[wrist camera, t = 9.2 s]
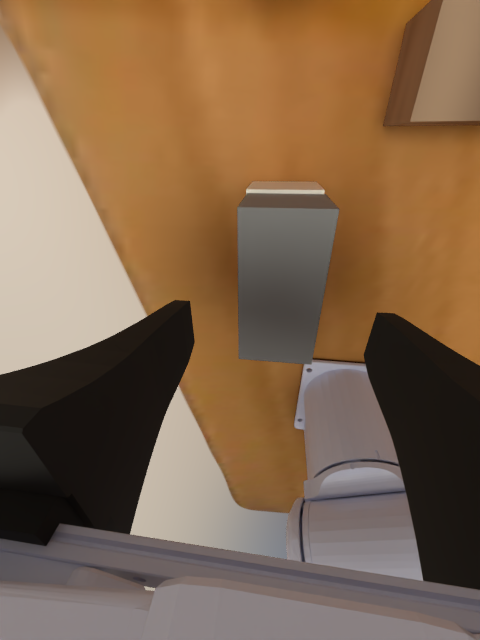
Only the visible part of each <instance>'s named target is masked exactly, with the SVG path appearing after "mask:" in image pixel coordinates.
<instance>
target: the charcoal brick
mask: <svg viewBox="0 0 480 640" xmlns="http://www.w3.org/2000/svg"><path fill="white" fill-rule="evenodd" d="M338 214H339V208H338V207H337V206H336V205H335V204H334V203H333V202H332V201H331V200H330V198H329V197H328V196H327V195H326V194H282V193H247V195H246V196H245V197H244V199H243V200H242V202H241V203H240V204H239V206H238V207H237V216H238V327H239V359H248V360H260V361H273V362H285V363H298V364H310V365H311V364H312V358H313V353H314V347H315V342H316V336H317V330H318V325H319V319H320V314H321V308H322V303H323V297H324V292H325V286H326V280H327V275H328V269H329V264H330V258H331V253H332V247H333V241H334V236H335V230H336V225H337V219H338Z"/></svg>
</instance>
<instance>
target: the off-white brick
mask: <svg viewBox="0 0 480 640" xmlns="http://www.w3.org/2000/svg"><path fill="white" fill-rule="evenodd" d="M324 191H325V190H324V189H323V188H322V187H321V186H320V185H319V184H318V183H317V182H301V181H253V182H252V183H251V184H250V185H249V187H248V188H247V189H246V195H247V193H282V194H324Z"/></svg>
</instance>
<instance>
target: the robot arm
mask: <svg viewBox="0 0 480 640" xmlns="http://www.w3.org/2000/svg"><path fill="white" fill-rule="evenodd" d="M194 342H195V341H194V333H193V324H192V315H191V307H190V301H180V300H175V301H173V302H171V303H169V304H167V305H165V306H164V307H162V308H160V309H159V310H157V311H156V312H154V313H152V314H151V315H149V316H147V317H146V318H144V319H143V320H141V321H139V322H137V323H136V324H134V325H132V326H130V327H128V328H126V329H125V330H123V331H121V332H119V333H117V334H115V335H113V336H111V337H109V338H107V339H105V340H103V341H101V342H98V343H96V344H94V345H91V346H90V347H87V348H84V349H82V350H79V351H76V352H73V353H71V354H68V355H66V356H63V357H60V358H57V359H54V360H51V361H48V362H45V363H42V364H38V365H35V366H32V367H28V368H25V369H21V370H18V371H14V372H10V373H6V374H2V375H0V640H480V366H479V365H477V364H475V363H474V362H472V361H470V360H469V359H467V358H465V357H463V356H462V355H460V354H458V353H457V352H455V351H453V350H452V349H450V348H448V347H447V346H445V345H444V344H442V343H441V342H439V341H437V340H436V339H434V338H433V337H431V336H430V335H428V334H427V333H425V332H424V331H422V330H421V329H419V328H418V327H416V326H414V325H413V324H411V323H410V322H408V321H407V320H405V319H403V318H402V317H400V316H398V315H396V314H393V313H377V314H376V317H375V321H374V324H373V327H372V330H371V333H370V336H369V340H368V343H367V346H366V349H365V352H364V359H365V364H361V363H349V362H336V361H324V360H312V364H311V365H310V364H304V366H303V372H302V378H301V384H300V390H299V396H298V402H297V408H296V414H295V420H294V427H295V428H297V429H303V430H304V438H305V450H306V463H307V476H308V480H305V481H304V495H305V497H301V498H297V499H296V500H295V502H294V503H293V506H292V509H291V511H290V513H289V516H288V520H287V529H286V530H287V531H286V546H287V559H281V558H275V557H268V556H262V555H255V554H249V553H243V552H237V551H231V550H224V549H218V548H212V547H205V546H199V545H193V544H186V543H180V542H174V541H167V540H161V539H155V538H148V537H142V536H136V535H130V531H131V527H132V523H133V519H134V516H135V511H136V508H137V504H138V500H139V497H140V493H141V490H142V486H143V483H144V479H145V476H146V472H147V469H148V465H149V462H150V459H151V456H152V452H153V449H154V446H155V443H156V439H157V437H158V434H159V431H160V427H161V425H162V422H163V419H164V416H165V414H166V411H167V409H168V406H169V404H170V402H171V400H172V398H173V395H174V393H175V391H176V389H177V387H178V385H179V383H180V380H181V378H182V376H183V374H184V372H185V369H186V367H187V365H188V362H189V359H190V356H191V353H192V349H193V346H194ZM308 368H311V369H309V370H308ZM144 586H147V587H153V588H156V589H155V591H147V590H145V588H144Z"/></svg>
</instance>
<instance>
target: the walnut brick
mask: <svg viewBox="0 0 480 640" xmlns="http://www.w3.org/2000/svg"><path fill="white" fill-rule="evenodd" d="M436 125H480V0H431V1H430V2H429V3H428V4H427V5H426V6H425V7H424V8H423V9H421V10H420V11H419V12H418V13H417V14H416V15H415V16H414V17H413V18H412V19H411V20H410V21H409V22H408V23H407V24H406V28H405V32H404V37H403V41H402V46H401V50H400V54H399V59H398V63H397V67H396V72H395V76H394V81H393V85H392V89H391V94H390V98H389V102H388V107H387V111H386V116H385V120H384V124H383V126H436Z"/></svg>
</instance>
